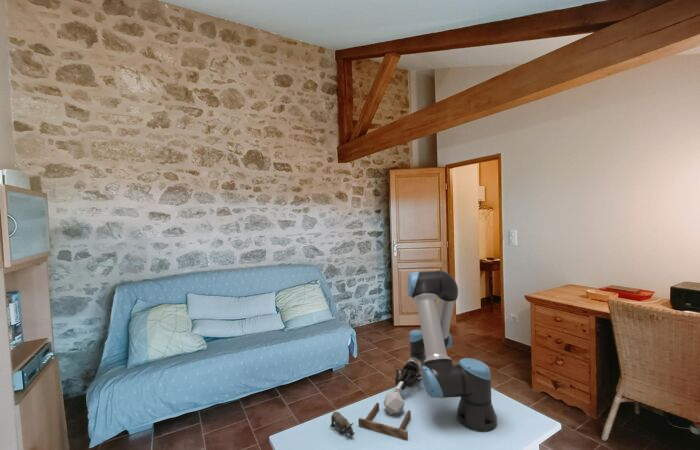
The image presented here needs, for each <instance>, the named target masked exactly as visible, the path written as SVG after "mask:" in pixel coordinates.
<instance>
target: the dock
mask: <svg viewBox="0 0 700 450" xmlns="http://www.w3.org/2000/svg"><path fill="white" fill-rule="evenodd" d="M379 412H380V403H379V402H376V403H375V405H374V406H373V408H372V409H371V410H370V411H369V413H368V415H367V416H366V417H365V418H362V417H358V427H359V428H363V429H366V430H370V431H373V432H376V433H381V434H383V435H387V436H391V437H394V438H398V439H400V440H403V441H404V440H405V441H408V440H409V432H408V430H406V429H407V427H408V425H409V422H410V420H411V419H412V416H411V415H412V414H411V410H409V409H408V410H407V412H406V413H405V416H404V417H403V419H402V421H401V424H400V425H399V426H398V427H396V426H395V427H394V426H392V425H391V426H390V425H387V424H384V423H379V422H377V421H374V419H375V417H376V416H377V414H378V413H379Z"/></svg>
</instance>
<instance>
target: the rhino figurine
mask: <svg viewBox="0 0 700 450" xmlns="http://www.w3.org/2000/svg"><path fill="white" fill-rule="evenodd" d="M330 419H331V420H330V422H331V424H330V427H335V426H336V427H338V428H339V431H338V434H339V435H342V434H343V433H344V432H345V433H347V434H348V435H349V436H350V437H354V435H355V434H356V432H354V429H353V427H352V426H353V425H354V422H352V423H350V421H348V419H347V417H344V416H343V415H342V414H341V412H339V411H334V412H333V413H332V414H331V416H330ZM343 431H344V432H343Z"/></svg>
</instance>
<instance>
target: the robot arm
mask: <svg viewBox="0 0 700 450" xmlns="http://www.w3.org/2000/svg"><path fill="white" fill-rule="evenodd" d="M406 289H407V296H408V297H410V298H412V302H413V303H415V304H416V307H417V313H418V318H419V324H420V329H413V330H410V332H409V339H408V340H409V358H408V360H407V361H406V363H405V364H404V366H403V368H401V370H398V369H395V377H394V379H395V380H394V384H395V386H396V387H395V392H399V394H400V395H401V393H402V391H404V390H405V389H406V388H412V387H413V386H414V385H415V384H416V383H418V382H420V381H422V385H423V387H424V390H425V392H426V393H427V396H429V397H430V398H432V399H446V398H460V399H459V402H458V405H457V408H456V419H457V421H458V422H459V423H460V424H461V425H462V426H463V427H465V428H466V429H469V430H472V431H476V432H490V431H492V430H495V428H497V425H498V418H497V414H496V410H495V409H494V405H493V403H492V375H491V369H490V367H489V366H488V365H487V364H486V363H484V362H483V361H481V360H478V359H474V358H469V357H465V358H460V360H459V362H458V364H453V359H452V358H451V357H449V356H448V354H447V349H446V348H448V349H449V348H451V347H452V346H453V339H452V335H451V333H450V328H451V324H452V323H451V322H452V316H453V313H454V312H453V311H454V307H455V301H457V299H458V298H459V297H458V295H459V287H458V283H457V282H456V280H455V278H454V277H453V275H451V274H449V273H448V272H446V271H443V270H428V271H426V270H425V271H424V270H423V271H420V270H419V271H414V272H413V271H412V272H410V273H409V274H408V278H407V288H406ZM437 300H438V302H437Z"/></svg>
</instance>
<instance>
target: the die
mask: <svg viewBox="0 0 700 450" xmlns="http://www.w3.org/2000/svg"><path fill="white" fill-rule="evenodd" d="M383 406H384V407H385V409H386V410H387V413H388V415H389V416H390V415H398V414H402V413H403V408H404V406H405V401H404V399H403V397H402V396H401V393H400V394H399V392H396V391H394V392H392V391H391V392H387V393H386V395H385V397H384V400H383Z"/></svg>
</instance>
